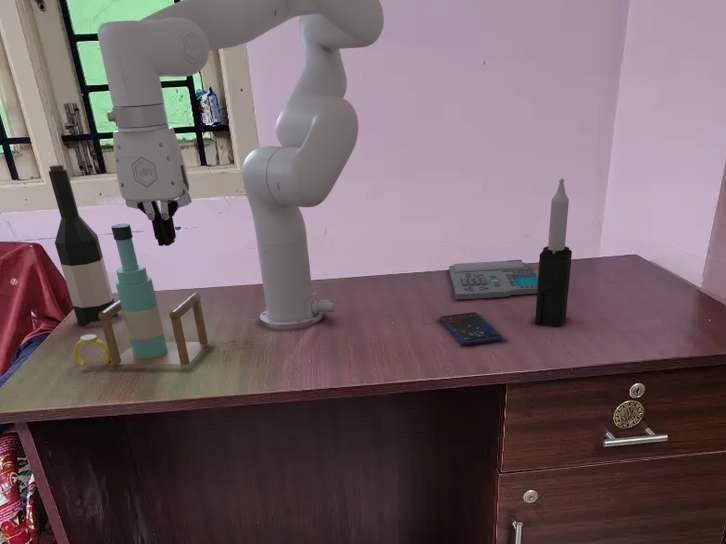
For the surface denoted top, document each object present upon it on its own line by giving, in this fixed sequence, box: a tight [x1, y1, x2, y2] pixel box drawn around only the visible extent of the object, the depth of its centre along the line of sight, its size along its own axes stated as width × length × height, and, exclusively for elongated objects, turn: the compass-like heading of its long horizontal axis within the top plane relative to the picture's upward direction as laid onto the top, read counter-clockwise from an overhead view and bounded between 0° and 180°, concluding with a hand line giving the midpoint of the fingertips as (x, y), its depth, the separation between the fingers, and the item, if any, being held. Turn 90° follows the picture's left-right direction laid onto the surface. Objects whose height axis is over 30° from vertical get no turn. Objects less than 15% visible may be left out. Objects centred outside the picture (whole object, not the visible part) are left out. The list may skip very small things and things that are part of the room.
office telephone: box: [448, 259, 539, 300], centre depth 157 cm, size 23×3×20 cm
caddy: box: [98, 292, 210, 366], centre depth 127 cm, size 15×11×10 cm
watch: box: [73, 333, 111, 366], centre depth 126 cm, size 6×3×6 cm, turn 93°
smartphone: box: [439, 311, 503, 346], centre depth 133 cm, size 8×1×15 cm
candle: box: [534, 178, 573, 327], centre depth 128 cm, size 5×5×25 cm
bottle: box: [111, 223, 167, 359], centre depth 124 cm, size 14×6×22 cm, turn 83°
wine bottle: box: [48, 164, 119, 327], centre depth 143 cm, size 8×8×30 cm
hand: (167, 243), depth 118 cm, fingers closed
